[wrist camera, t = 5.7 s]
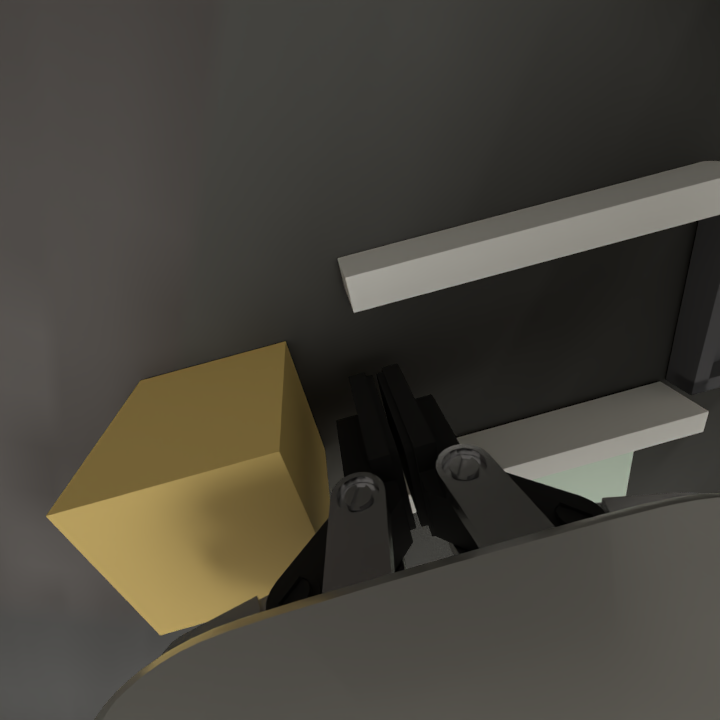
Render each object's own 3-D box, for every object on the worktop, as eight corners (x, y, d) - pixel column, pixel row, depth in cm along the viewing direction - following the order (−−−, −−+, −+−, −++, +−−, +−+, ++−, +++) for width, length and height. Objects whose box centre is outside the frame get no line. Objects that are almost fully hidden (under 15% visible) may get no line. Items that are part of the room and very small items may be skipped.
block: (285, 341, 13) (279, 451, 8) (325, 449, 15) (338, 584, 10) (140, 380, 13) (45, 516, 8) (203, 483, 15) (160, 635, 10)
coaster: (627, 416, 17) (638, 424, 16) (612, 512, 20) (621, 521, 20) (487, 455, 17) (493, 465, 16) (494, 545, 20) (499, 556, 19)
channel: (704, 160, 12) (781, 161, 10) (656, 400, 17) (702, 431, 15) (337, 258, 12) (344, 277, 10) (391, 473, 16) (404, 515, 14)
